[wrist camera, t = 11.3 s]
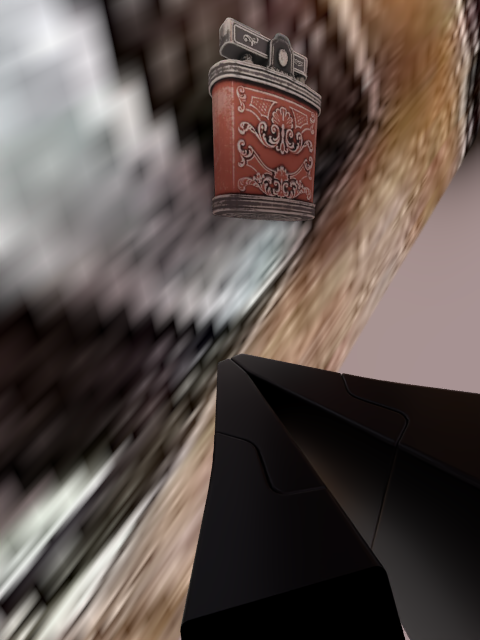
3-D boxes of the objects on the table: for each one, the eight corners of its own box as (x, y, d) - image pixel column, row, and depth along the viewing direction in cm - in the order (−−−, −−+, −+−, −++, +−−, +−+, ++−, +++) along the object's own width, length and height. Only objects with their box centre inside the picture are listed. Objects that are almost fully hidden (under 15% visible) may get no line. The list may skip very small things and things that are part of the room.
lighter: (293, 222, 22) (299, 78, 19) (325, 217, 19) (337, 48, 16) (204, 215, 18) (197, 33, 15) (227, 207, 15) (223, -17, 12)
